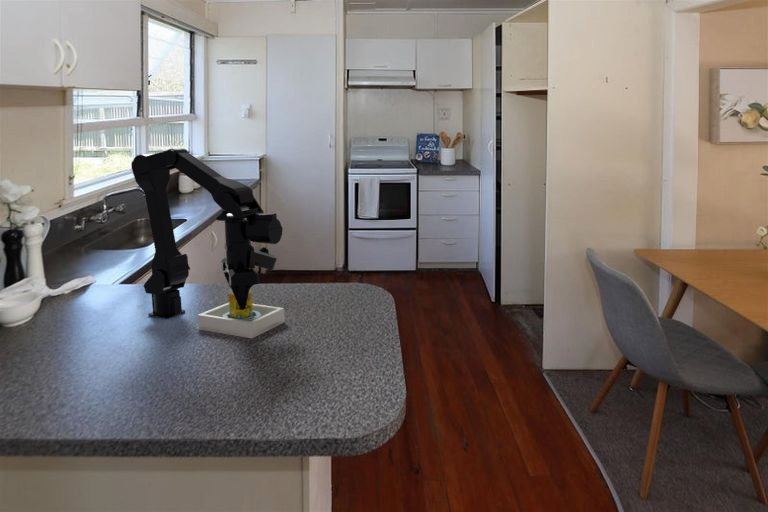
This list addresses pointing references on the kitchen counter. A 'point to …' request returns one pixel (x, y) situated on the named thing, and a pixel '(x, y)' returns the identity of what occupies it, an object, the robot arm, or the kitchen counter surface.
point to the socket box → (241, 321)
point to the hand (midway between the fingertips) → (240, 306)
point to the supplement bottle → (235, 309)
